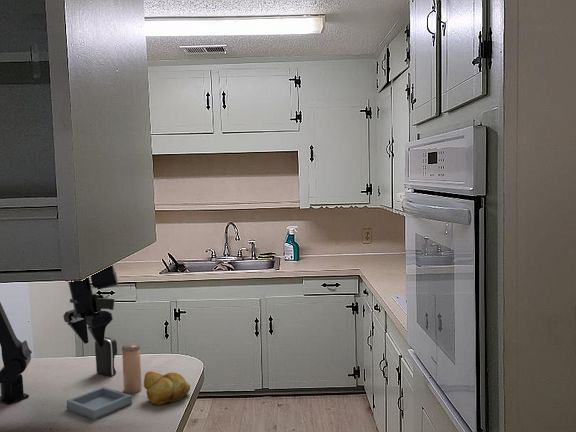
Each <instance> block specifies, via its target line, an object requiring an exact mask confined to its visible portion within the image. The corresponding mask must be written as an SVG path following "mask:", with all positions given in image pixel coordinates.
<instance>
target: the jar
mask: <svg viewBox="0 0 576 432" xmlns="http://www.w3.org/2000/svg"><path fill="white" fill-rule="evenodd" d="M121 353H122V355H121V357H122V376H123V393H126V394H136V393H139V392H141V391H142V388H143V387H142V364H141V344H140V343H139V342H138V343H137V342H128V343H125V344H123V345H121Z"/></svg>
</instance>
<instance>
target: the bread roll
mask: <svg viewBox="0 0 576 432" xmlns="http://www.w3.org/2000/svg"><path fill="white" fill-rule="evenodd" d="M143 387H144V388H145V390H146V395H147V396H146V398H147V400H148V401H150V403H152V404H153V405H162V404H166V403H167V402H169V403H173V402H176V401H179V400H182V398H183V397H186V395H188V393H189V392H190V390H191V385H190V383H189V382H187V380H186V379H185V377H184V376H183V375H181V374H180V373H177V372H168V373H166V374H161V373H158V372H155V371H151V370H150V371H147V372H146V373H145V374H144V379H143Z"/></svg>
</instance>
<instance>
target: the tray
mask: <svg viewBox="0 0 576 432" xmlns="http://www.w3.org/2000/svg"><path fill="white" fill-rule="evenodd" d="M132 401H133V400H132V395H131V394H130V393H125V392H124V391H123V392H122V391H120V390H116V389H112V388H109V387H106V386H101V387H99V388H96V389H93V390H91V391H88V392H85V393H83V394H80V395H78V396H75V397H72V398H69V399H67V400H66V410H67V411H69V412H73V413H75V414H78V415H80V416H82V417H86V418H88V419H91V420H93V421H95V420H98V419H101V418H104V417H105V416H108V415H109V414H110V415H111V414H112V413H115V412H118V411H120V410H121V409H124V408H126V407H129V406H131V405H132V404H133V402H132Z"/></svg>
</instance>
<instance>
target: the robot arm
mask: <svg viewBox="0 0 576 432" xmlns="http://www.w3.org/2000/svg"><path fill="white" fill-rule="evenodd" d="M118 282H119V281H118V276H117V271H116V270H115V267H114V265H112V266H110V267H108V268H106V269H104V270H102V271H100V272H98V273H96V274H94V275H92V276H89V277H88V278H86V279H85V280H83V281H74V282H68V281H67V284H68V287H69V291H70V295H71V298H70V299H69V303H71V304H73V308H74V309H71V310H68V311H67V310H66V311H65V313H64V314H63V320H64V322H65V323H67V325H68V327H70V328H71V329H72V331H73V332H75V334H76V335H77V337H78V338H79V339H80V340H81V341H82V342H83V344H88V343H89V334H88V331H89V333H90V334H91V336H92V337H93V339H94V341H96V343H97V344H98V346H99V347H102V346H103V345H104V337H105V335H106V328H107V326H108V325H109V324H110V323H111V321H114V319H113V315H112V314H113V313H111V312H110V311H111V310H112V311H113V310H114V308H115V298H105V297H104V295H103V294H96V293H93V289H92V287H93V288H95V289H97V290H99V291H100V290H103V289H107V288H111V287H115V286H116V287H118V285H119V284H118ZM108 310H110V311H108ZM0 350H1V360H2V364H3V366H2V368H1V369H0V402H1V403H4V404H6V405H9V404H12V403H15V402H18V401H21V400H24V399H26V398H29V396H30V395H29V394H28V393H25V391H24V380H23V374H22V373H24V372H25V370H26V369H27V367H28V366H29V364H31V363H30V362H31V360H32V353H33V351H32V350H31V349H30V348H29V345H28V342H27V340H23V341H20V340H19V339H18V338H17V336H16V334H15V332H14V329H13V327H12V325H11V322H10V320H9V318H8V315H7V314H6V312H5V309H4V308H3V305H2V302H1V301H0Z"/></svg>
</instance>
